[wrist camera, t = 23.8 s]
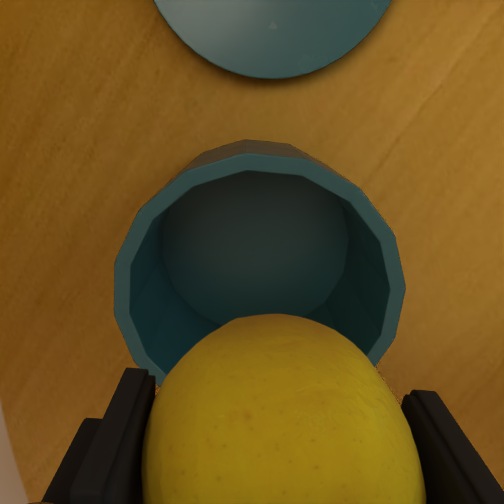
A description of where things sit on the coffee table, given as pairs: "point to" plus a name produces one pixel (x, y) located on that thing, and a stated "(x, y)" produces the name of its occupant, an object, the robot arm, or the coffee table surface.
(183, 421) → the apple
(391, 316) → the pot
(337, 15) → the lid
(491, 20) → the coffee table surface
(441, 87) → the coffee table surface
